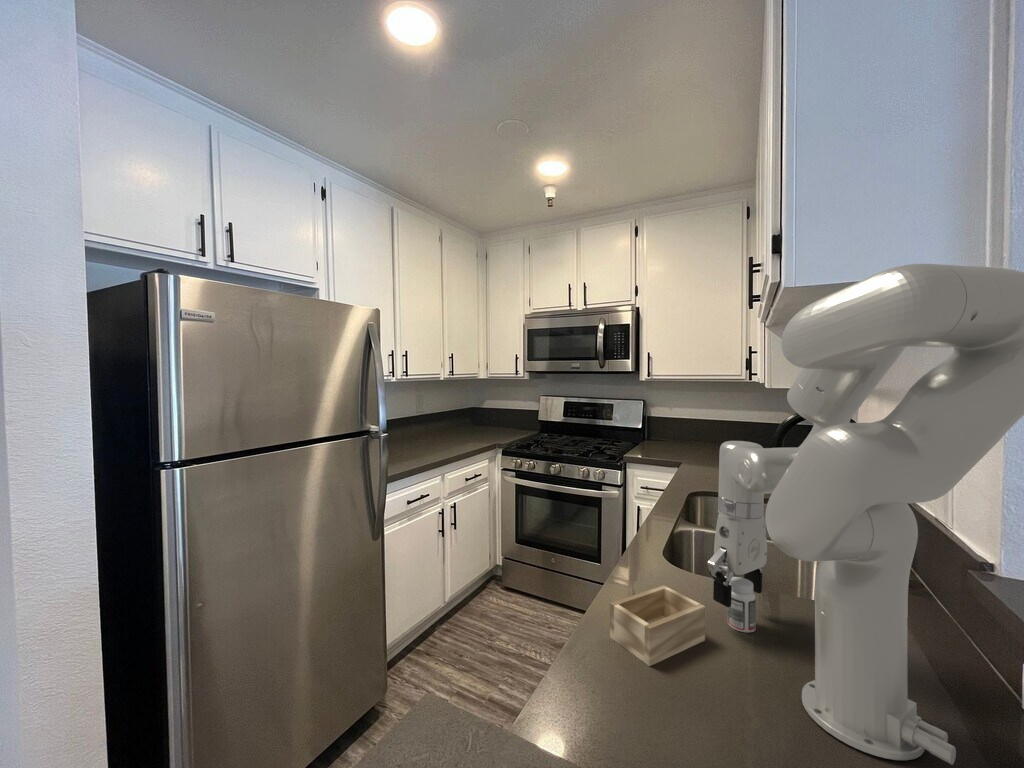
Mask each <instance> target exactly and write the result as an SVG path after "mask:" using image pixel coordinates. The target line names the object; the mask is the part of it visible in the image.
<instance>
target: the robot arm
mask: <svg viewBox="0 0 1024 768" xmlns="http://www.w3.org/2000/svg"><path fill="white" fill-rule="evenodd" d="M780 344H781V351H782V354H783V356H784V357H785V359H786V360H787V361H788V362H789V363H791V365H793V366H795V367H797V368H801V371H800V372H799V374H798V375H797V377H796V378H795V380H794V381H793V383H792V385H791V386H790V388H789V389H788V390H787V395H786V397H787V398H786V400H787V402H788V404H789V406H790V407H791V408H792V410H793V411H794V412H796V414H798V415H799V416H800V417H802V418H803V419H804V420H807V421H808V422H811V423H812V424H813V426H812V428H811V431H810V432H809V433H808V435H807V436H806V438H805V439H804V440H803V442H802V443H800V445H799V446H798V447H771V448H770V447H766V448H764V447H763V446H762V445H761V444H759V443H756V442H751V441H745V440H727V441H724V442H722V443H721V444H720V447H719V456H718V457H719V461H718V462H719V463H718V495H717V496H718V498H717V504H718V505H717V513H718V515H717V520H716V526H715V533H714V546H713V555H712V556H711V557H710V559H708V561H707V568H708V570H709V575H710V576H711V580H712V581H713V592H712V593H713V595H712V597H713V601H715V602H717V603H718V604H721V605H722V606H724V607H731V595H732V586H731V585H729V583H730V581H731V579H732V577H734V574H735V575H736V576H742V575H743V578H745V579H747V580H749V581H751V582H752V583H753V593H757V594H761V593H762V592H763V572H764V571H765V566H766V564H767V561H768V560H767V559H768V558H767V557H768V556H767V555H768V552H767V551H768V547H769V546H768V544H767V543H768V542H767V533H768V535H769V537H770V540H771V542H772V543H773V544H774V545H775V546H776V547H777V548H778V550H780V551H781V552H783V553H784V554H786V555H787V556H789V557H791V558H794V559H796V560H798V561H799V560H800V561H805V562H819V563H818V567H817V570H816V574H815V586H814V588H815V589H814V590H815V591H814V592H815V593H814V680H811V681H809V682H807V683H805V684H804V685H803V687H802V689H801V701H802V705H803V707H804V709H805V711H806V712H807V714H808V715H809V716H810V718H811V719H812V720H813V721H815V723H816V724H817V725H818V726H820V727H821V728H822V729H823V730H824V731H825V732H827V733H829V734H830V735H831V736H833V737H834V738H836V739H838V740H839V741H841V742H842V743H844V744H846V745H848V746H850V747H852V748H854V749H857V750H858V751H861V752H863V753H866V754H869V755H871V756H874V757H878V758H883V759H886V760H891V761H892V760H893V761H909V760H910V761H911V760H915V759H917V758H919V757H922V755H923V753H925V750H926V751H928V752H929V753H930V754H931V755H933V756H935V757H937V758H939V759H940V760H942V761H944V762H946V763H948V764H950V765H951V766H953V765H954V763H955V761H956V757H957V756H956V754H957V749H956V746H954V745H952V744H950V743H948V741H949V736H948V735H949V734H948V732H946V731H944V730H942V729H940V728H939V727H937V726H935V725H931V724H929V723H927V722H926V721H924V720H922V719H923V718H922V717H921V716H919V715H918V712H917V711H918V710H917V709H918V708H917V706H918V705H917V702H915V701H914V700H911V699H909V698H908V617H909V616H908V613H909V612H908V611H909V610H908V607H909V605H908V604H909V601H908V600H909V599H908V598H909V597H908V596H909V582H910V575H911V570H912V569H911V568H912V565H913V560H914V556H915V553H916V549H917V544H918V538H919V533H918V532H919V530H918V528H919V527H918V521H917V518H916V516H915V514H914V511H913V510H912V508H911V507H910V506H909V504H919V503H926V502H931V501H935V500H937V499H940V498H941V497H943V496H945V495H946V494H948V493H949V492H950V491H951V490H952V489H953V488H955V486H956V485H958V484H959V482H960V481H961V480H962V479H963V478H964V477H965V476H966V475H967V474H968V473H969V472H970V471H971V470H973V468H974V467H975V466H976V465H977V464H978V463H979V462H980V460H982V459H983V458H985V457H984V456H986V455H987V454H989V452H990V451H991V450H992V449H993V448H994V447H995V446H996V445H997V443H999V442H1000V441H1001V439H1002V438H1003V437H1004V436H1005V434H1007V432H1008V431H1010V429H1012V427H1014V426H1015V424H1017V422H1019V420H1021V419H1022V418H1023V417H1024V271H1020V270H1016V269H1009V268H1001V267H990V266H975V265H974V266H973V265H972V266H971V265H955V264H953V265H952V264H940V263H939V264H938V263H912V264H910V263H909V264H905V265H900V266H899V265H898V266H895V267H891V268H888V269H885V270H883V271H880V272H878V273H875V274H873V275H870V276H868V277H866V278H863V279H862V280H859V281H858V282H855V283H853V284H851V285H848V286H846V287H845V288H842V289H839V290H837V291H836V292H833V293H831V294H828V295H826V296H824V297H822V298H820V299H818V300H815V301H814V302H812V303H810V304H808V305H806V306H805V307H803V308H801V310H799V311H798V312H796V313H795V315H793V316H792V318H790V320H789V321H788V322H787V324H786V325H785V328H784V330H783V332H782V335H781V343H780ZM907 347H913V348H914V347H920V348H922V347H924V348H953V352H952V353H951V354H950V355H949V356H948V357H947V358H946V359H945V360H944V361H942V362H940V363H939V364H938V365H936V366H935V367H933V368H931V369H930V370H929V371H927V373H925V374H924V375H922V376H921V377H920V378H919V379H918V380H917V381H916V382H915V383H914V384H912V386H911V387H910V388H909V390H908V391H907V392H906V394H905V395H904V397H903V398H902V399H901V401H900V402H899V403H898V404H897V405H896V406H895V407H894V409H893V410H892V411H891V412H890V413H889V414H888V415H887V416H885V417H884V418H883V419H880V420H876V421H873V422H851V419H853V417H854V415H855V414H856V413H857V411H859V409H860V408H861V407H862V405H863V404H864V402H865V401H866V400H867V398H868V397H869V395H870V394H871V393H872V392H873V391H874V390H875V388H876V387H877V385H879V383H880V382H881V381H882V379H883V378H884V376H885V375H886V374H887V373H888V371H890V369H891V367H892V366H893V365H894V364H895V362H896V361H897V360H898V359H899V357H900V356H901V354H902V353H903V351H904V350H905V348H907ZM765 494H766V495H767V494H769V495H770V497H769V499H768V500H767V504H766V507H765V515H764V505H765V504H764V503H765V502H764V499H765ZM722 571H725V572H726V574H725V575H724V574H723V573H722Z"/></svg>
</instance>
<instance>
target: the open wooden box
mask: <svg viewBox="0 0 1024 768" xmlns="http://www.w3.org/2000/svg"><path fill="white" fill-rule="evenodd" d="M609 637H610V638H611V639H612V640H613V641H615V642H616V643H617V644H619V645H620V646H621V647H623V648H624V649H625V650H627V651H628V652H629V653H631V654H632V655H634V656H635V657H636V658H638V659H639V660H640V661H642V662H643V663H644V664H645V665H647V666H648V667H651V666H654V665H655V664H658V663H660V662H662V661H665V660H666V659H668V658H670V657H671V658H672V656H675V655H676V654H679V653H681V652H683V651H685V650H687V649H689V648H692V647H694V646H696V645H698V644H700V643H702V642H705V641H706V606H705V605H703V604H701V603H700V602H698V601H695V600H694V599H692V598H689V597H687V596H686V595H684V594H682V593H680V592H678V591H676V590H674V589H672V588H670V587H668V586H666V585H664V584H662V585H660V586H657V587H654V588H651V589H648V590H645V591H642V592H640V593H637V594H633V595H631V596H627V597H624V598H622V599H619V600H616V601H612V602H610V604H609Z"/></svg>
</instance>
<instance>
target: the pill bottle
mask: <svg viewBox="0 0 1024 768" xmlns="http://www.w3.org/2000/svg"><path fill="white" fill-rule="evenodd" d="M729 585H731V586H732V595H731V607H727V608H726V621H727V625H728V626H729V627H731V628H732V629H733V630H735V631H738V632H742V633H753V632H755V631H756V628H757V627H756V625H757V624H756V623H757V618H756V617H757V613H756V612H757V611H756V610H757V608H756V606H757V604H756V602H757V601H756V595H755V592H754V591H753V583H752V582H751V581H749V580H747V579H745V578H744V577H741V576H733V577H732V579H731V581H730V583H729Z"/></svg>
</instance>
